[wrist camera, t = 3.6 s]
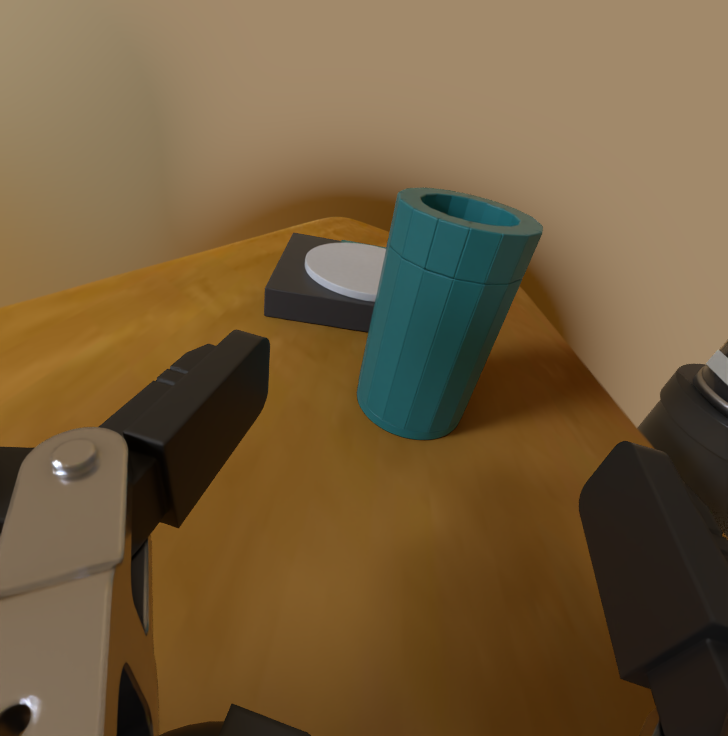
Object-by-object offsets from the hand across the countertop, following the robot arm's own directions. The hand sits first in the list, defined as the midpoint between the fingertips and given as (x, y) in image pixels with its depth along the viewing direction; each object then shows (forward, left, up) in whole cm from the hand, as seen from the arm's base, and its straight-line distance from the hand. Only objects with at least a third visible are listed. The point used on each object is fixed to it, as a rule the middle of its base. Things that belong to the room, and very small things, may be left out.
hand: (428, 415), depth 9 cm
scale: (+1, -24, -9) cm, 25 cm away
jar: (-2, -11, -9) cm, 14 cm away
